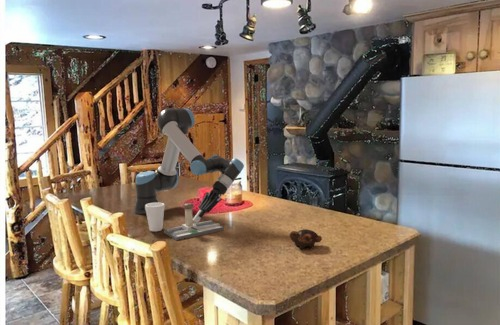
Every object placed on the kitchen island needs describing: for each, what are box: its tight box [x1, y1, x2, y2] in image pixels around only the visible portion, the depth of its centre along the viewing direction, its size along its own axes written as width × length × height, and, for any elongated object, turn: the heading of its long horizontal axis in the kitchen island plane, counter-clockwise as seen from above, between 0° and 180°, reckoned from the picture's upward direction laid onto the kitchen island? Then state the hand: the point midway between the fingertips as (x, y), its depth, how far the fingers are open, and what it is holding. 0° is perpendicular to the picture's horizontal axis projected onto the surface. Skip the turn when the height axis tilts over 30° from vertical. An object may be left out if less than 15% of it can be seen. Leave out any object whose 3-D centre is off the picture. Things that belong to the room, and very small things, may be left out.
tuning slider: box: [181, 202, 197, 230], centre depth 199 cm, size 11×5×13 cm, turn 35°
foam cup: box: [145, 202, 165, 232], centre depth 207 cm, size 10×9×13 cm
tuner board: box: [163, 219, 225, 241], centre depth 203 cm, size 14×26×3 cm, turn 125°
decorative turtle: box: [289, 229, 323, 250], centre depth 179 cm, size 10×15×8 cm, turn 114°
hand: (194, 221), depth 203 cm, fingers closed
